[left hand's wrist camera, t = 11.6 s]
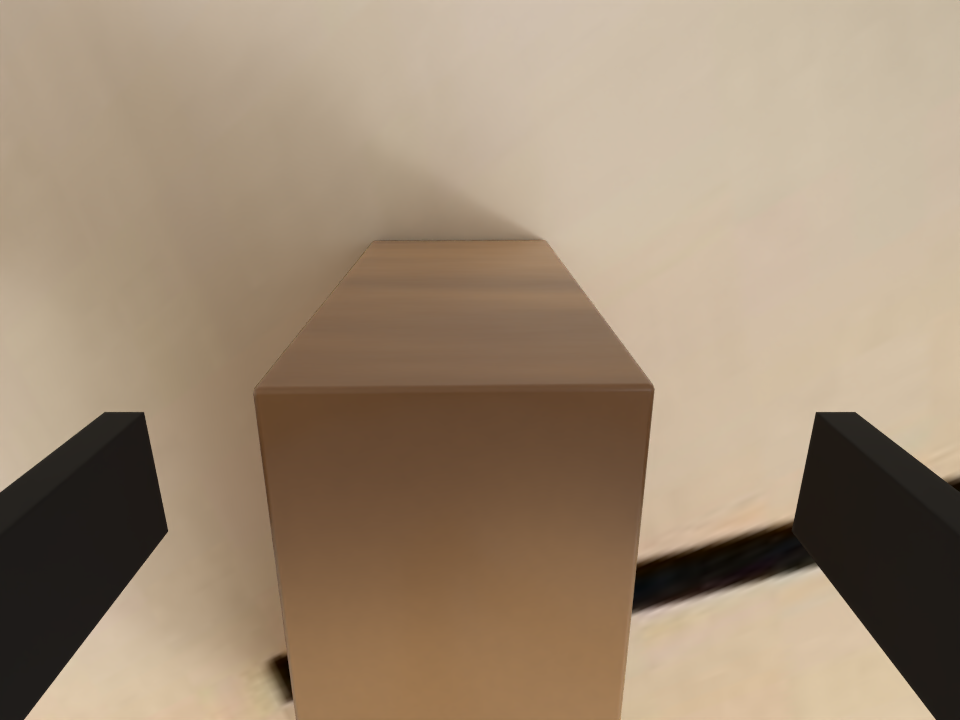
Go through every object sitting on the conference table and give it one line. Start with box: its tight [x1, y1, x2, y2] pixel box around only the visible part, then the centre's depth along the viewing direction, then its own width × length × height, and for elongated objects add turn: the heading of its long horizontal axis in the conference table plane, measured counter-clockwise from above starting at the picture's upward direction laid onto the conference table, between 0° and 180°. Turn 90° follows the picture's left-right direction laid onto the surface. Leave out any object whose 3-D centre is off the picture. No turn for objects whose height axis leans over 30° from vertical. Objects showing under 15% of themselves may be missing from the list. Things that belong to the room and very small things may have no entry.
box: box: [253, 240, 654, 720], centre depth 18 cm, size 20×6×13 cm, turn 0°
